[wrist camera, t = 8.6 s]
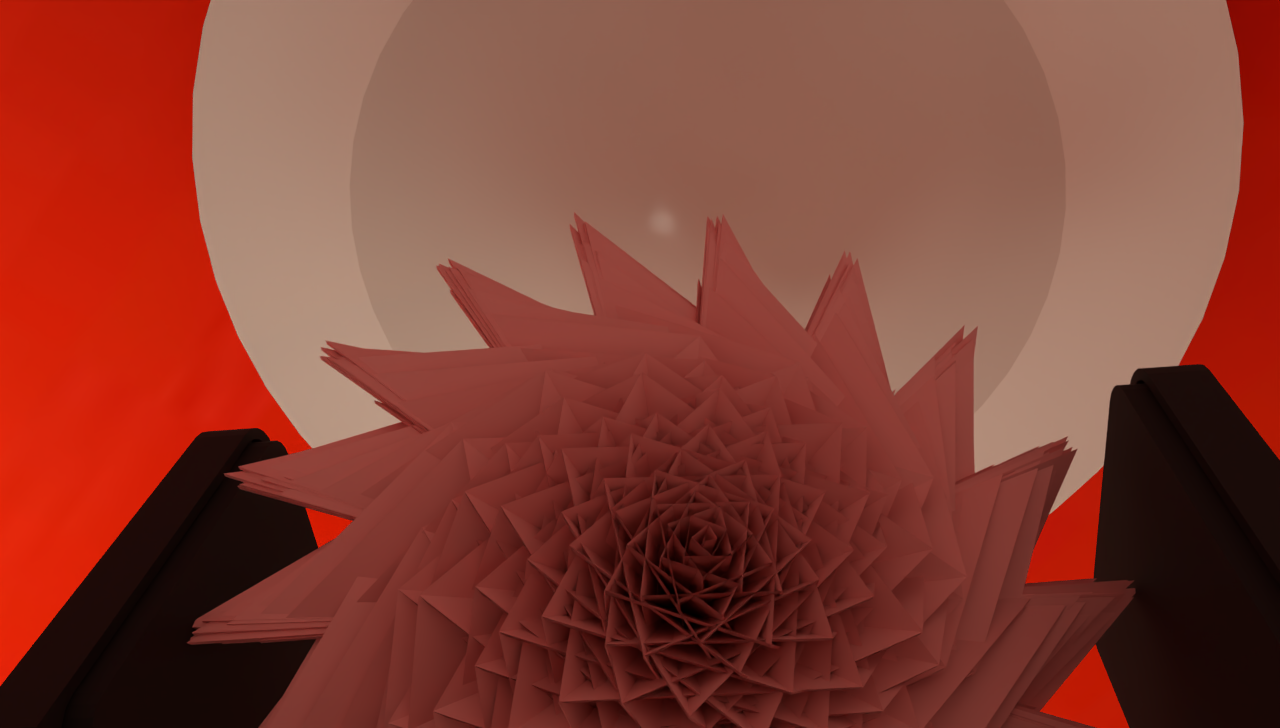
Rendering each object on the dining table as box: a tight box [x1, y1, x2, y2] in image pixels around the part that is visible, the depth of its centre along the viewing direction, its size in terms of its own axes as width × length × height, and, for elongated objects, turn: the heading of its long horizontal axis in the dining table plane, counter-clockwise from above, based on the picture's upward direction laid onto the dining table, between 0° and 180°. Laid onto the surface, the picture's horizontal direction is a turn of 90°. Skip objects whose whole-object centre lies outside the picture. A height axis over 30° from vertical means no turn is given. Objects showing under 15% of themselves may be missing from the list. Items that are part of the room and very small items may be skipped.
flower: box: [187, 212, 1136, 728], centre depth 10 cm, size 8×8×6 cm
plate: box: [192, 0, 1244, 514], centre depth 18 cm, size 16×16×1 cm
